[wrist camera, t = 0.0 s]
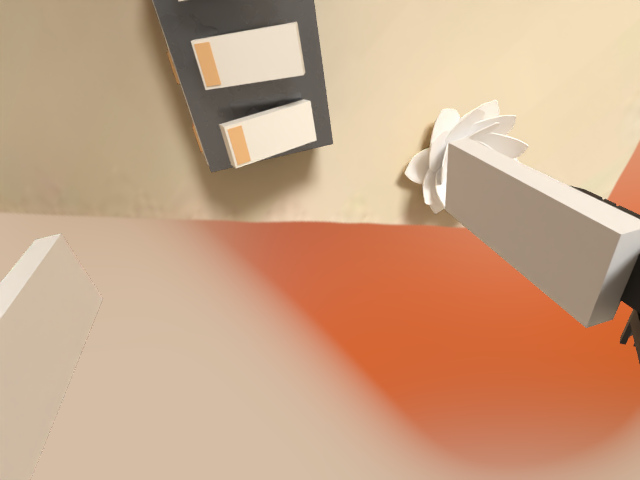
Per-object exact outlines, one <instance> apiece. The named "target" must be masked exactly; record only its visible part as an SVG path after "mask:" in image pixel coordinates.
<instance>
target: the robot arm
mask: <svg viewBox="0 0 640 480" xmlns="http://www.w3.org/2000/svg"><path fill="white" fill-rule="evenodd" d="M445 210H446V211H447V212H448V213H449V214H450V215H452V216H453V217H454V218H455V219H456V220H458V221H459V222H460V223H461V224H462V225H464V226H465V227H466V228H467V229H468V230H470V231H471V232H472V233H473V234H474V235H476V236H477V237H478V238H479V239H480V240H482V241H483V242H484V243H485V244H487V245H488V246H489V247H490V248H491V249H492V250H494V251H495V252H496V253H497V254H498V255H500V256H501V257H502V258H503V259H504V260H506V261H507V262H508V263H509V264H510V265H512V266H513V267H514V268H515V269H516V270H517V271H519V272H520V273H521V274H522V275H524V276H525V277H526V278H527V279H528V280H530V281H531V282H532V283H533V284H535V285H536V286H537V287H538V288H539V289H540V290H541V291H543V292H544V293H545V294H546V295H547V296H549V297H550V298H551V299H552V300H553V301H555V302H556V303H557V304H558V305H559V306H561V307H562V308H563V309H564V310H566V311H567V312H568V313H569V314H570V315H571V316H573V317H574V318H575V319H576V320H577V321H579V322H580V323H581V324H582V325H583V326H585V327H586V328H588V327H590V326H594V325H597V324H600V323H603V322H606V321H609V320H612V319H613V318H614V316H615V314H616V311H617V309H618V306H619V304H620V302H621V301H623V302H624V303H626V304H627V305H629V306H630V307H631V308H633V311H632V313H631V315H630V318H629V320H628V322H627V324H626V327H625V329H624V331H623V333H622V335H621V339H620V343H621V344H626V342H627V340H628V338H629V337H630V336H632V335H633V338H634V342H635V343H634V346H635V347H636V350H637V354H638V358H639V363H640V215H638V214H637V213H634V212H632V211H630V210H628V209H626V208H623V207H622V206H616V204H615V203H613V202H611V201H609V200H606V199H604V200H603V199H602V197H600V196H598V195H596V194H593V193H591V192H589V191H587V190H585V189H581V188H577V187H573V186H569V185H566V184H564V183H562V182H560V181H558V180H556V179H554V178H552V177H549V176H547V175H545V174H543V173H541V172H539V171H537V170H535V169H533V168H530V167H528V166H526V165H524V164H522V163H520V162H518V161H516V160H514V159H511V158H509V157H507V156H505V155H503V154H501V153H499V152H497V151H495V150H492V149H490V148H488V147H486V146H484V145H482V144H480V143H478V142H476V141H473V140H471V139H469V138H465V139H461V140H457V141H453V142H448V160H447V179H446V198H445ZM102 300H103V298H102V296H101V295H100V293H99V291H98V290H97V288H96V287H95V285H94V284H93V282H92V280H91V279H90V277H89V276H88V274H87V272H86V271H85V269H84V268H83V266H82V265H81V263H80V261H79V260H78V258H77V257H76V255H75V254H74V252H73V250H72V249H71V247H70V246H69V244H68V243H67V241H66V239H65V238H64V236H63V235H62V234H61V233H60V234H56V235H52V236H48V237H43V238H39V239H35V241H34V242H33V243H32V244H31V246H30V247H29V248H28V249H27V250H26V252H25V253H24V254H23V255H22V257H21V258H20V259H19V260H18V262H17V263H16V264H15V265H14V266H13V268H12V269H11V270H10V271H9V273H8V274H7V275H6V276H5V278H4V279H3V280H2V281H1V282H0V480H31V478H32V476H33V473H34V471H35V468H36V465H37V463H38V460H39V458H40V455H41V453H42V450H43V448H44V445H45V443H46V440H47V438H48V435H49V433H50V430H51V428H52V425H53V423H54V420H55V418H56V415H57V413H58V410H59V408H60V405H61V403H62V400H63V398H64V395H65V393H66V390H67V388H68V385H69V383H70V380H71V378H72V375H73V373H74V370H75V368H76V365H77V363H78V360H79V358H80V355H81V353H82V350H83V348H84V345H85V343H86V340H87V338H88V335H89V333H90V330H91V328H92V325H93V323H94V320H95V318H96V315H97V313H98V310H99V308H100V305H101V303H102Z"/></svg>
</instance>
